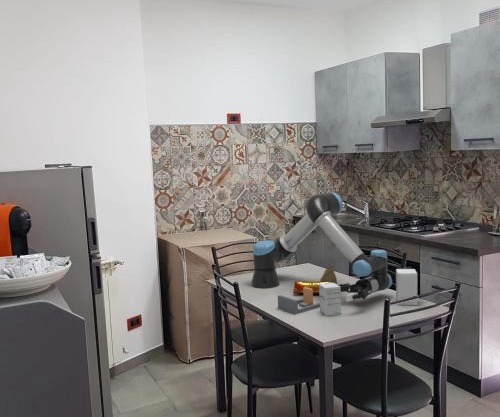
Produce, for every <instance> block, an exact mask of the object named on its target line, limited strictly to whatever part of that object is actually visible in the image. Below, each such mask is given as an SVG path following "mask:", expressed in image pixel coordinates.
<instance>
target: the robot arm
mask: <svg viewBox="0 0 500 417" xmlns="http://www.w3.org/2000/svg"><path fill="white" fill-rule="evenodd" d="M343 207H344V206H343V200H342V198H341V196H340V195H339V194H338V193H335V192H327V193H321V194H314V195H312V196H310V198H308V199H307V202H306V205H305V211H306V214H305V215H303V217H301V219H300V220H299V221H298V222H297V223H296V224H295V225H294V226H293V227H292V228H291V229H290V230H289V231H287V233H286V234H283V233H282V234H281V235H280V236H279V237H278V238H277V239H276V240H267V239H266V240H260V241H257V242H256V243H255V244H253V251H252V253H253V254H252V255H253V270H254V271H253V273H252V274H253V276H252V279H251V286H252V287H253V288H259V289H269V288H270V289H271V288H276V287H279V285H280V278H279V276H278V274H277V271H276V270H277V268H276V264H277V263H279V262H280V263H281V262H285V261H288V260H290V259H292V258H293V257H294V256H295V254H296V251H297V250H298V245H299V244H301V243H302V242H303V240H305V239H306V238H307V237H308V236H309V235H310V234H311V233H312V232H313V231H314V230H315V229H316V228H317V227H319V228H320V229H321V230H322V232H324V233H325V236H327V237H328V238H329V239H330V240H331V241H332V243H333V244H334V245H335V247H336V248H337V249H338V250H339V251H340V252H341V253H342V255H343V256H344V257H345V258H346V259H347V260H348V262H349V263H351V264H352V271H353V273H354V275H355V276H357V277H359V278H361V279H358V280H356V282H355V283H353V284H350V283H349V282H348V283H342V284H337V285H338V286H340V291H341V293H345V292H346V293H350V294H347V295H345V302H347V303H348V302H352V301H354V300H360V299H361V300H366V298H368V296H369V295H371V294H373V293H377V292H380V291H381V292H382V291H384V290H387V289H389V288H390V287H391V286H392V284H393V279H392V276H391V275H390V274H389V273H388V253H387V251H386V250H385V249H372V250H371V251H370V256H369V257H368V256H367V255H366V254H365V253H364V252H363V251H362V250H361V248H360V247H359V246H358V245H357V244H356V243H355V242H354V241H353V239H351V237H350V235H348V233H346V231H345V230H344V229H343V228H342V227H341V226H340V225H339V224H338V222H337V221H336V220H335V219H334V218H333V217H334V216H337V215H338V214H340V213H341V212H342V210H343ZM369 275H371V276H369ZM362 277H365V278H362Z"/></svg>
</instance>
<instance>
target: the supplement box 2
mask: <svg viewBox="0 0 500 417" xmlns="http://www.w3.org/2000/svg"><path fill="white" fill-rule="evenodd" d="M413 296H417V297H418V272H417V271H416V269H415V268H396V269H395V299H396V300H401V299H405V298H408V297H413ZM397 305H399V306H418V298H417V299H414V300H411V301H407V302H403V303H399V304H397Z"/></svg>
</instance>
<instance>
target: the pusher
mask: <svg viewBox="0 0 500 417" xmlns="http://www.w3.org/2000/svg"><path fill="white" fill-rule="evenodd" d="M302 291H303V298H304V302H302V303H299V304H298V307H300V308H303V307H306V306H310V305H313V304H314V295H313V294H314V291H313V288H310V287H306V286H305V287H302Z"/></svg>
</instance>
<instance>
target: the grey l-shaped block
mask: <svg viewBox="0 0 500 417" xmlns="http://www.w3.org/2000/svg"><path fill="white" fill-rule="evenodd" d="M302 302H304V297H303V298H299V299H296V298H295V299H294V298H291V297H289V296H284V295H281V294H279V295H277V308H278V310H282V311H285V312H288V313H290V314H294V315H299V314H301V313H304V312H308V311H311V310H314V309H317V308H318V309H319V308H320V302H317V303H313V305H310V306H306V307H299V303H302Z"/></svg>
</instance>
